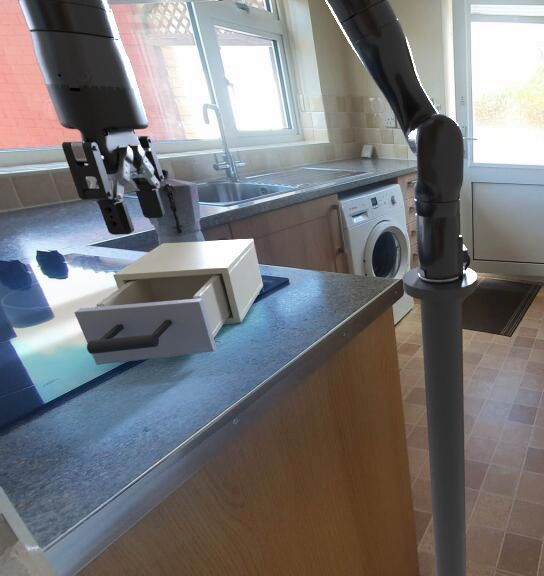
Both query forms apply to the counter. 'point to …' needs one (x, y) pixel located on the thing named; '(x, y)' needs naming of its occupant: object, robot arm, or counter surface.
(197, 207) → the moka pot
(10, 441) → the counter surface
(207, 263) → the cabinet
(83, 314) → the drawer
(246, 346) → the counter surface
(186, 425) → the counter surface
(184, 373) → the counter surface
